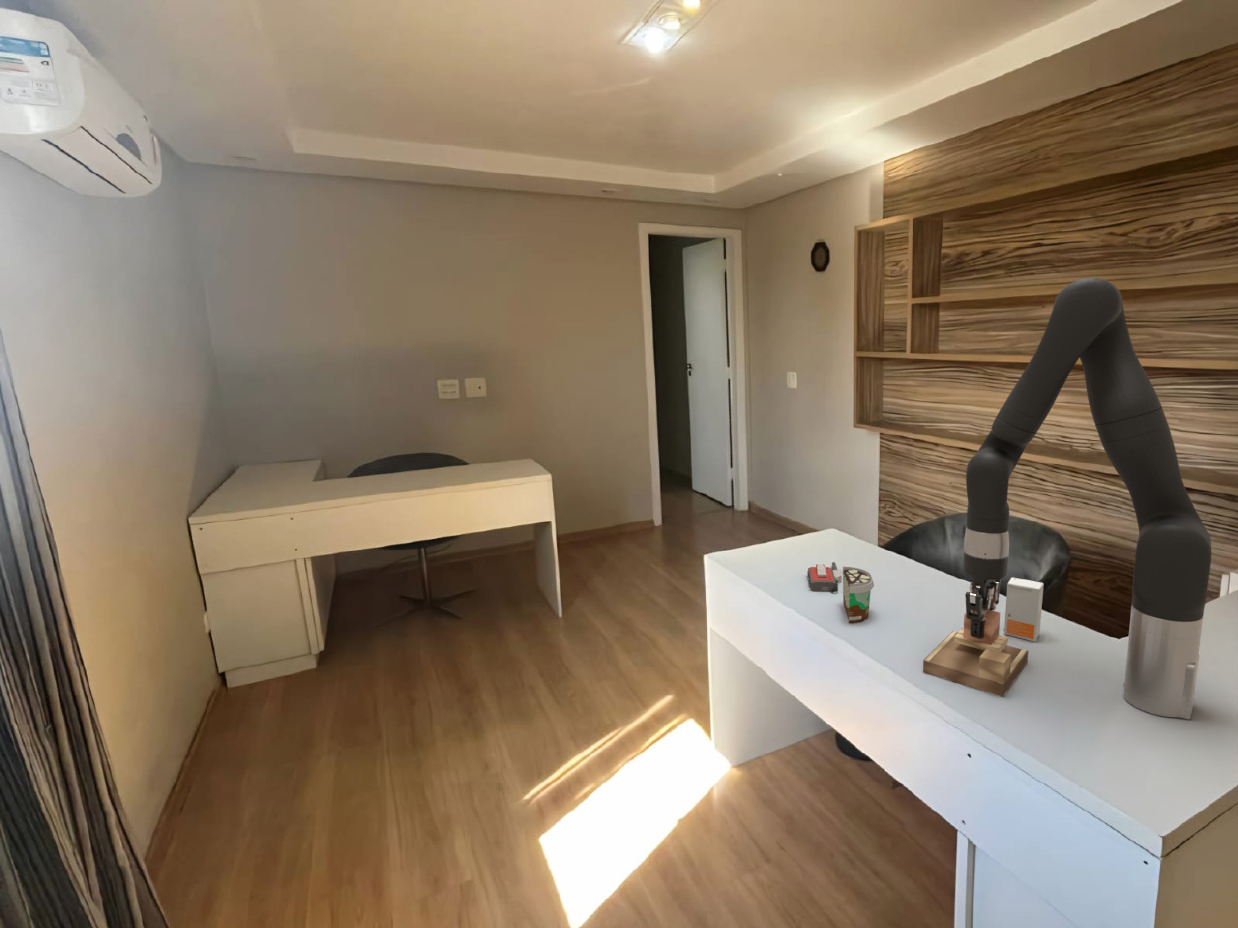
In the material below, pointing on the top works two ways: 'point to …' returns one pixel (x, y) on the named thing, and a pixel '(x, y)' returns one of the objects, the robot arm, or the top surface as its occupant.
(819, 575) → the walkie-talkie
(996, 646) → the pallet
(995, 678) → the light brown wooden cube
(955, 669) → the dock
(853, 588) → the food container
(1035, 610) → the skincare box
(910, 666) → the top surface
